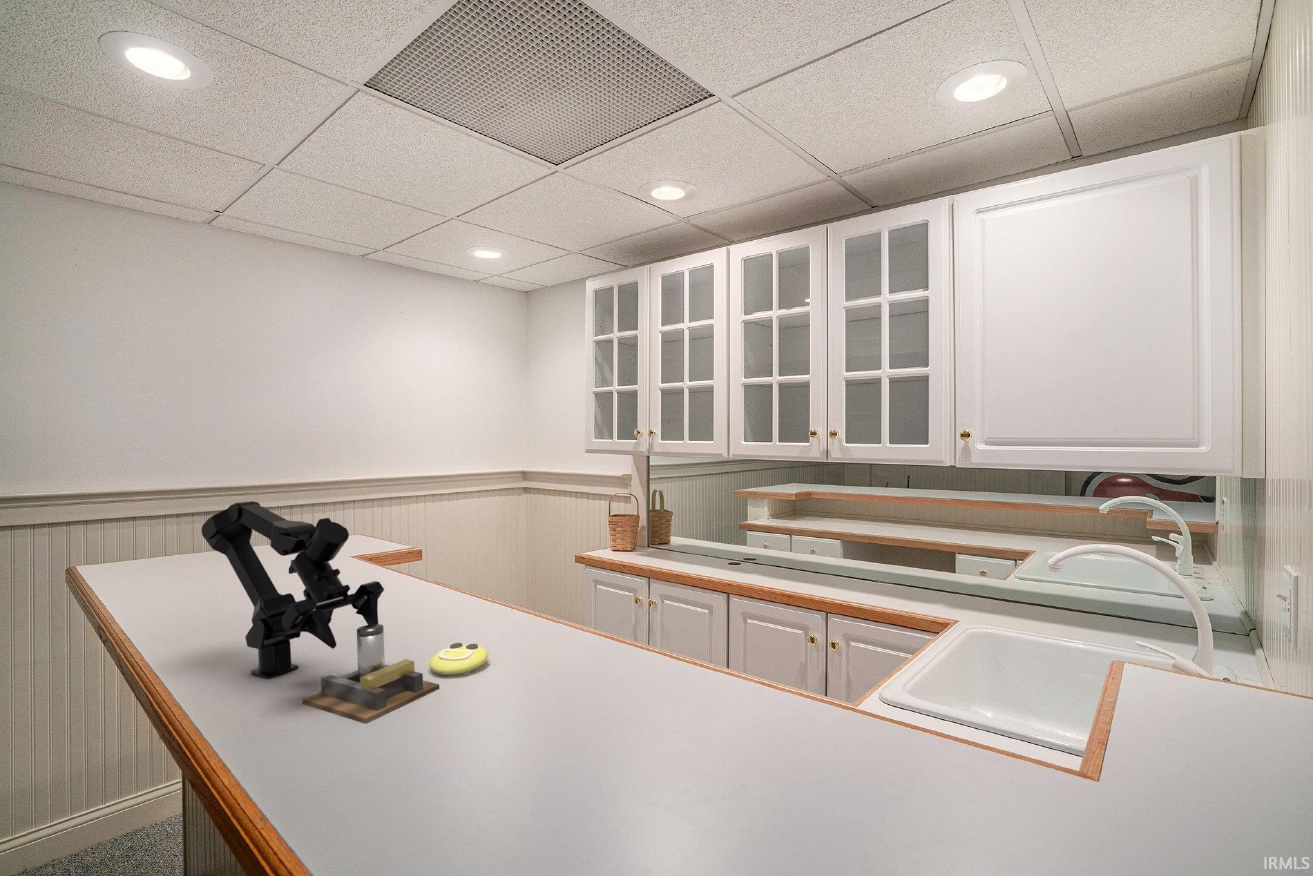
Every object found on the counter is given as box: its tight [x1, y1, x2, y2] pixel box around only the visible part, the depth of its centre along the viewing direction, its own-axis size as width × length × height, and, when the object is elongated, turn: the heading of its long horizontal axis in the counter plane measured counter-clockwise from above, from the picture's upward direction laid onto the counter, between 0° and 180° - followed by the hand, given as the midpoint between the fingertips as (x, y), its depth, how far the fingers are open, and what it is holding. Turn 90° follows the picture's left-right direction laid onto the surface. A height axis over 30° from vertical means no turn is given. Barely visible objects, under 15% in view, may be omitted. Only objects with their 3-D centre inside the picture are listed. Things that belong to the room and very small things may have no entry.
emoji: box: [428, 642, 489, 676], centre depth 132 cm, size 4×12×12 cm
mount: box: [301, 664, 440, 724], centre depth 118 cm, size 18×16×4 cm
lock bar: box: [360, 658, 416, 691], centre depth 116 cm, size 2×10×2 cm, turn 151°
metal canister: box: [356, 623, 386, 683], centre depth 118 cm, size 5×5×12 cm
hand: (356, 639), depth 120 cm, fingers open, 9 cm apart
